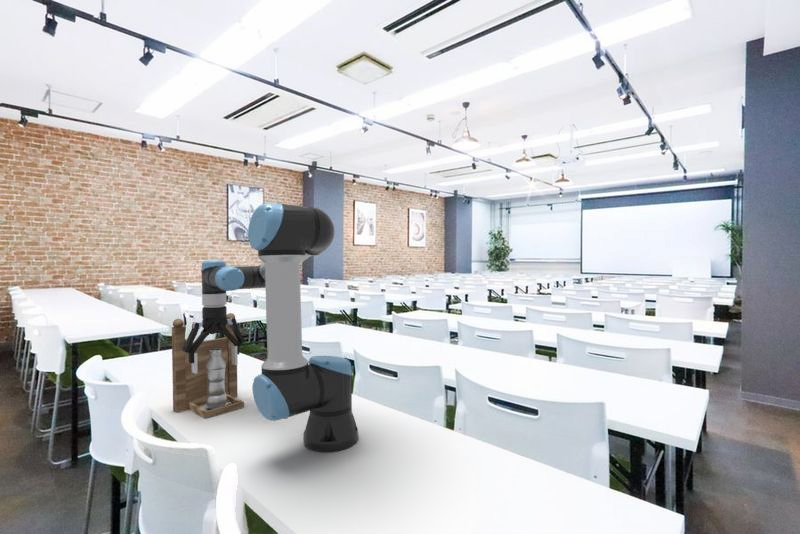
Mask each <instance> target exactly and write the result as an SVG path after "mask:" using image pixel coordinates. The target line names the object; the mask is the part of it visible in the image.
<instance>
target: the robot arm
mask: <svg viewBox="0 0 800 534" xmlns="http://www.w3.org/2000/svg"><path fill="white" fill-rule="evenodd" d="M334 225H335V224H334V222H333V220H332V218H331V217H330V216H329V215H328V213H326V211H324V210H322V209H320V208H318V207H314V206H304V205H293V204H287V203H286V204H285V203H279V202H278V203H277V202H276V203H275V202H274V203H270V202H269V203H268V202H266V203H261V204H260V205H259V206H257V207H256V208H255V210H254V211H253V213H252V215H251V217H250V220H249V224H248V228H247V235H248V236H247V237H248V242H249V245H250V247H251V248H252V249H253V250H255V251H257V256H258V259H259V260H260V261H261V262H262V263H261V264H259V265H247V266H246V265H243V266H242V265H241V266H233V265H231V266H227V263H226V261H225V260H222V259H220V260H219V259H218V260H217V259H215V260H203V261H202V262H201V270H200V273H201V305H202V306H203V307H202V309H201V311H202V312H201V313H202V314H201V315H202V316H201V317H202V321H201V322H197V321H193V322H192V325H191V330H190V332H189V334H188V336H187V338H186V339H185V344H184V347H183V349H182V351H183V352H186V353H188V354H189V363H192V372H193V373H195V374H196V373H198V367H197V353H195V351H196V350H197V349H198V347H199V346H200V345H201V343H202V342H203V341H205V339H207V337H208V336H209V335H215V334H221V333H222V334H223V336H224V337H225V336H226V337H227V338H228V339H229V340H230V341H231V342H232V343H233V344H234V345H232V364H233V365H237V366H238V363H239V362H238V355H240V352H241V351H240V347H241V346H242V344H245V343H246V340H245V339H244V336H243V335H242V333H241V331H240V329H239V327H238V325H236V321H237V320H236V317H235V318H229V319H226V316H227V314H228V312H227V311H228V310H227V308H228V307H227V306H226V305H227V292H230V291H231V292H232V291H238V290H249V289H252V290H253V289H265V312H266V313H265V317H266V319H265V321H266V351H267V357H266V359H265V360H264V362H263V363H262V364H261V373H260V374H258V375H256V376H255V377H254V379H253V381H252V396H253V400H254V403H255V405H256V406H255V407H257V409H258V411H259V413H260V414H261V416H262V417H263V418H265V419H266V420H267V421H271V422H274V421H279V420H283V419H284V420H285V419H288V418H290V417H293V416H297V415H300V414H303V413H306V412H309V415H308V418H307V422H306V424H305V429H304V431H303V436H302V437H303V440H302V442H303V445H304V447H306V448H307V449H309V450H312V451H315V452H322V453H323V452H324V453H326V452H337V451H338V452H339V451H342V450H345V449H349V448H350V447H352V446H354V445H355V444H356V443H357V442H358V440H359V429H358V428H359V427H358V426H357V424H356V423H357V422H356V419H355V416H354V414H353V410H352V409H353V407H352V405H353V403H352V402H353V401H352V400H353V398H352V395H353V394H352V393H353V392H352V391H353V390H352V389H353V388H352V383H353V382H352V381H353V380H352V379H353V377H352V376H353V372H352V363H351V362H350V360H349V359H347V358H344V357H341V356H335V355H314V356H311V357H310V358H309V359H307V358H306V357H304V356H303V340H302V339H303V335H302V334H303V332H302V304H301V303H302V299H301V298H302V297H301V295H302V294H301V264H302V263H303V262H305V261H306V260H307V259H309V258H310V257H315V256H319V255H320V254H322V253H323V252H325V251H326V250H327V249H328V248H329V247H330V246H331V244H332V242H333V240H334V239H335V226H334ZM227 323H228V324H229V325H230V326H231V328H232V330H233V332H234V334H235V336H236V338H237V339H236V338H235V337H234V336H233V335H232V334H231V333H230V332H229V330H228V329H227V328H226V327H225V326H226V325H227ZM201 327H202V330H201V331H200V329H201ZM199 331H200V334H199V335H198V333H199ZM197 335H198V336H197ZM196 337H197V338H196ZM193 342H194V343H193Z"/></svg>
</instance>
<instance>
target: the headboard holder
mask: <svg viewBox="0 0 800 534" xmlns="http://www.w3.org/2000/svg"><path fill="white" fill-rule="evenodd" d="M229 318H235V319H236V315H235V314H234V313H233V312H229V313H227V316H226V319H229ZM184 323H185V322H184V320H183V319H182V318H175V319H174V320H173V321H172V326H173V327H171V355H172V358H171V360H172V364H171V365H172V367H171V368H172V371H171V372H172V411H173V412H174V413H178V414H179V413H181V412H185V411H187V410H190V411H191V412H193V413H195V414H196V415H198V416H199V417H202V418H203V419H210V418H213V417H216V416H219V415H222V414H227V413H229V412H233V410H234V411H236V409H237V410H240V409H243V408H242V407H244V408H245V402H244V400H241V399H239V398H237V397H238V365H233V364H232V345H234V344H233V343H232V342H231V341H230V340H229V339H228V338H227V337H226V336H225V335H224V337H221V338H215V339H214V338H213V339H206V340H204V341H203V342H202V343H201V345H200V346H199V347H198V349H197V350H196V351H195V353H197V367H198V373H196V374H195V373H193V372H192V363H189V354H188V353H186V352H183V351H182V349H183V347H184V344H185V342H186V327H185V326H184V325H185V324H184ZM237 323H238V321H237V320H236V325H237ZM237 326H238V325H237ZM225 327H226V328H227V329H228V330H229V332H230V333H231V334H232V335H233V336H234V337H235V338H236V336H235V334H234V332H233V330H232V328H231V326H230V325H229V324H228V323H227V325H226V326H225ZM236 339H237V338H236ZM194 342H195V341H193V343H194ZM214 348H220V349H221V353H222V354H221V357H222V358H223V359H224V361H225V363H226V369H225V379H224V381H225V382H224V384H225V393H226V397H227V401H228V403H229V402H231V403H232V404H231V403H230V404H226V405H225V406H223V407H219V408H216V409H209V410H206V409H205V408H202V407H201V406H206V395H207V375H206V370H205V364H206V362H207V360H208V359H209V358H210V355H209V354H210V349H214ZM235 396H237V397H235ZM239 408H240V409H239Z"/></svg>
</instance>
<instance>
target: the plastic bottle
mask: <svg viewBox="0 0 800 534" xmlns="http://www.w3.org/2000/svg"><path fill="white" fill-rule="evenodd" d="M221 354H222V353H221V349H220V348H214V349H210V354H209V355H210V358H209V359H208V360H207V362H206V364H205V370H206V375H207V395H206V404H205V406H206V408H207V409H209V410H212V409H216V408H219V407H223V406H226V405H227V397H226V393H225V384H224V382H225V381H224V379H225V369H226V363H225V361H224V359H223V358H222V357H221Z"/></svg>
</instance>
